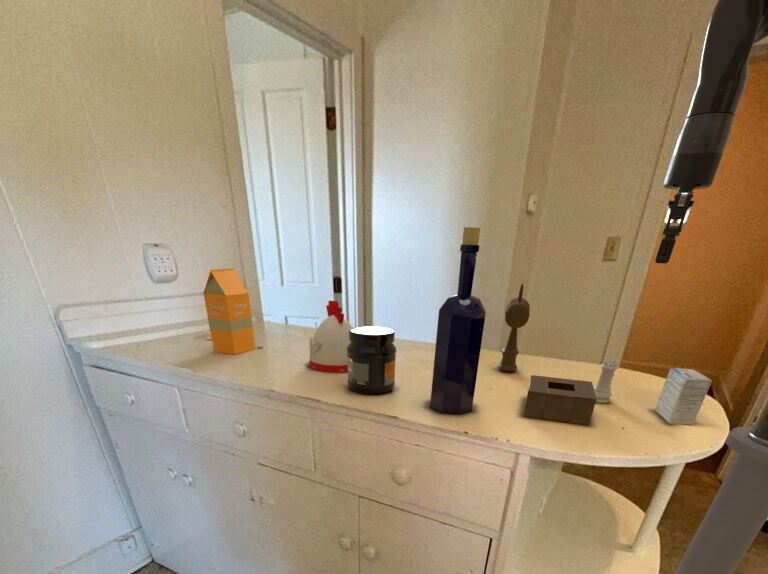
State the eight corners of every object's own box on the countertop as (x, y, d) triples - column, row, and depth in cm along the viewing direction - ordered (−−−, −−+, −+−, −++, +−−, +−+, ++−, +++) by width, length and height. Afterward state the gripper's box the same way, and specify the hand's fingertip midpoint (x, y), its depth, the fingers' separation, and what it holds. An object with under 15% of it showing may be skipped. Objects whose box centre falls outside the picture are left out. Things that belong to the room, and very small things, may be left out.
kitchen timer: (348, 356, 118) (347, 296, 110) (373, 368, 108) (374, 303, 100) (301, 361, 112) (296, 298, 104) (323, 374, 102) (319, 306, 94)
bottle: (464, 398, 90) (486, 228, 74) (481, 413, 83) (511, 228, 66) (422, 400, 88) (436, 226, 72) (436, 415, 81) (455, 226, 64)
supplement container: (402, 386, 96) (405, 329, 90) (380, 398, 88) (382, 337, 82) (362, 378, 100) (362, 324, 94) (338, 390, 92) (336, 331, 86)
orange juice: (256, 348, 123) (245, 269, 112) (235, 354, 116) (222, 271, 105) (234, 345, 126) (222, 267, 115) (213, 351, 119) (198, 269, 108)
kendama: (518, 367, 114) (535, 282, 103) (518, 376, 106) (536, 286, 95) (495, 365, 115) (509, 281, 104) (494, 374, 107) (509, 284, 96)
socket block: (585, 405, 88) (592, 381, 86) (588, 425, 79) (596, 399, 76) (526, 398, 91) (531, 374, 89) (522, 416, 82) (528, 390, 79)
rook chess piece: (608, 405, 89) (621, 366, 85) (586, 401, 91) (597, 362, 87) (611, 399, 92) (623, 361, 88) (589, 395, 94) (600, 358, 90)
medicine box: (693, 426, 80) (713, 380, 75) (667, 424, 81) (686, 378, 76) (676, 412, 86) (694, 369, 82) (653, 410, 87) (670, 367, 82)
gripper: (728, 144, 66) (685, 265, 75) (719, 158, 77) (681, 262, 85) (673, 147, 69) (638, 262, 78) (671, 160, 79) (640, 260, 88)
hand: (660, 262), depth 82 cm, fingers open, 8 cm apart
